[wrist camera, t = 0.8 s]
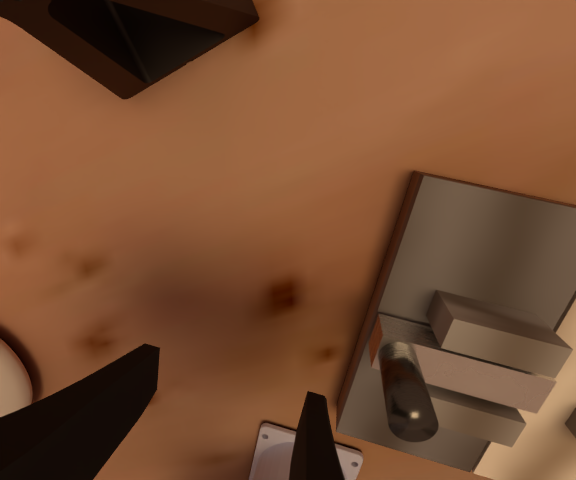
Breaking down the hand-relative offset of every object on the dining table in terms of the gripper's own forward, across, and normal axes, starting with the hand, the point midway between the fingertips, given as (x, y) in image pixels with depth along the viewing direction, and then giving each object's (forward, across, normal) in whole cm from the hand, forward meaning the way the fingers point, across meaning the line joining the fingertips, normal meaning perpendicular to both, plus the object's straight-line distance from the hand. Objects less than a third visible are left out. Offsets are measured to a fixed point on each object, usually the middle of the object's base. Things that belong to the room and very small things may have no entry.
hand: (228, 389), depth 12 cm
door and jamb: (+9, -15, 0) cm, 18 cm away
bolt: (+7, -10, 0) cm, 12 cm away
